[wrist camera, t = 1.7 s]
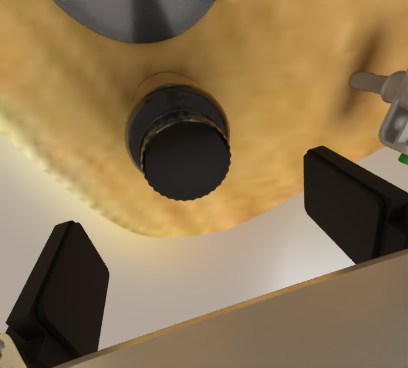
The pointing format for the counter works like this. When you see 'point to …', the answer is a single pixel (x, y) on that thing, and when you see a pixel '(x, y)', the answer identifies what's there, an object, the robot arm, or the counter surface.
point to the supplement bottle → (178, 137)
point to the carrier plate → (137, 17)
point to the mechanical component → (398, 112)
